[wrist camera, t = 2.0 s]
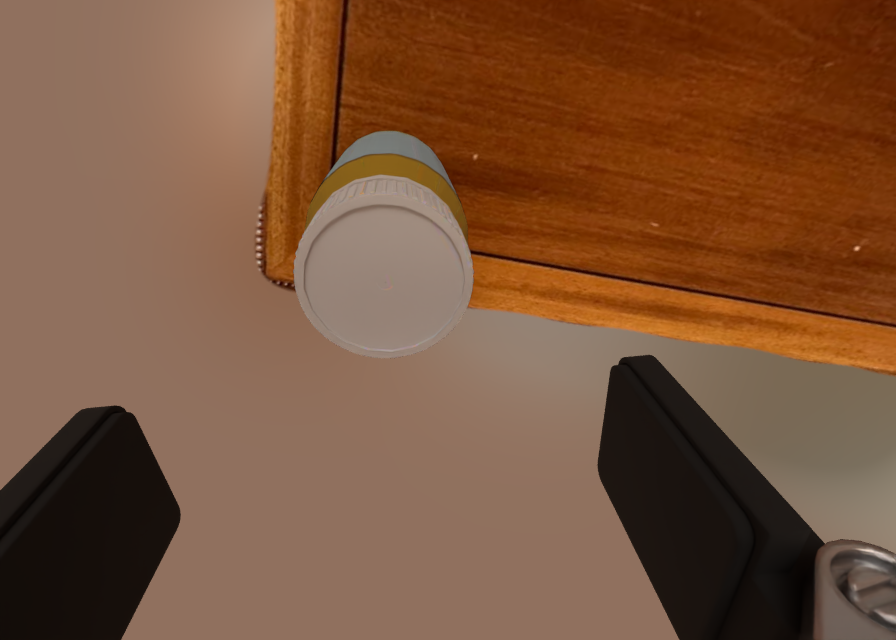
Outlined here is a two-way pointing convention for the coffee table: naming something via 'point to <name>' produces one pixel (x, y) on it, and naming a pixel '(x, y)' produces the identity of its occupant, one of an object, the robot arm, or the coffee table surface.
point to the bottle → (385, 250)
